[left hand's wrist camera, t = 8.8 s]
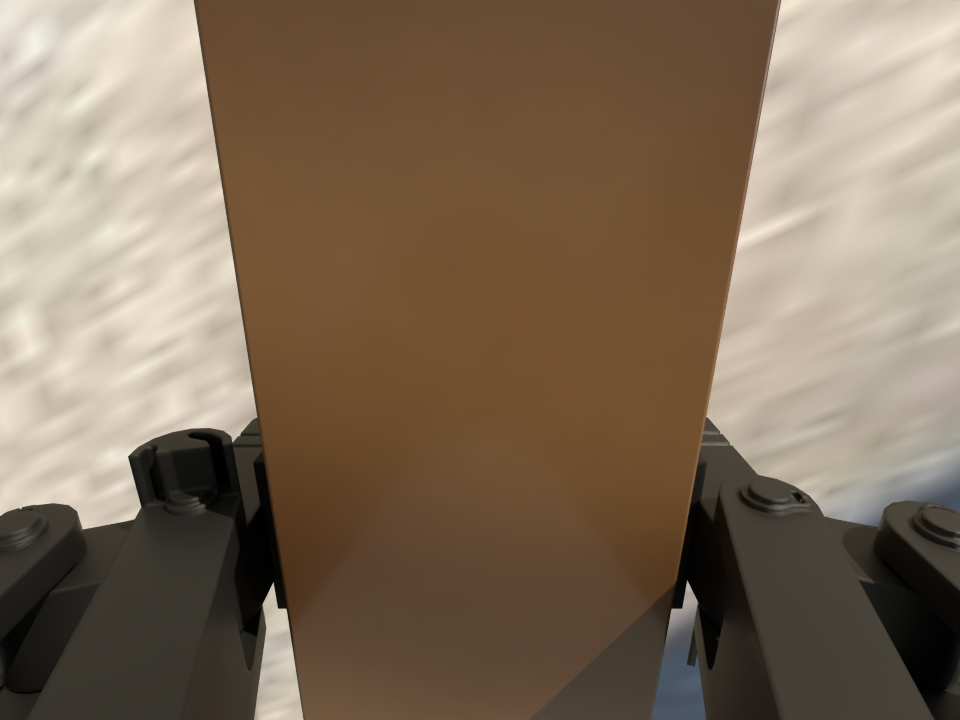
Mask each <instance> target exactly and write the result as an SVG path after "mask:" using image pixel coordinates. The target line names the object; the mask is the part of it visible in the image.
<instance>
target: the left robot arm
mask: <svg viewBox="0 0 960 720" xmlns="http://www.w3.org/2000/svg"><path fill="white" fill-rule="evenodd" d="M128 458H129V462H130V466H131V469H132V473H133V477H134V481H135V484H136V488H137V492H138V496H139V499H140V503H141V509H140V511H139V513H138V515H137V516H136V518H135V519H134V520H130V521H126V522H121V523H116V524H110V525H105V526H100V527H94V528H89V529H84V530H83V529H82V526H81V523H80V520H79V516H78V513H77V511H76V510H74V509H73V508H72V507H70V506H69V505H62V504H54V503H52V504H43V505H31V506H26V507H22V509H19V508H18V509H15V510H11V511H8V512H6V513H4V514H3V515H2V516H0V720H254V714H255V707H256V700H257V692H258V685H259V678H260V670H261V663H262V656H263V648H264V641H265V634H266V623H265V616H264V611H263V605H262V604H263V602H264V600H265V598H266V596H267V594H268V592H269V590H270V588H271V586H272V584H273V582H274V587H275V593H276V599H277V605H278V609H287V607H286V601H285V594H284V588H283V581H282V575H281V568H280V562H279V555H278V548H277V542H276V535H275V529H274V522H273V516H272V509H271V503H270V496H269V490H268V483H267V476H266V470H265V463H264V457H263V450H262V444H261V437H260V431H259V424H258V418H255V419H254V420H252V421H251V422H250V423H249V425H248V426H247V427H246V428H245V429H244V430H243V431H242V433H241V436H238V437H237V438H236V440H235V441H234V442H233V443H232V438H231V436H230V435H228V434H227V433H226V432H224V431H221V430H216V429H211V428H199V429H188V430H182V431H177V432H172V433H169V434H166V435H163V436H160V437H157V438H154V439H152V440H150V441H149V442H147V443H145V444H143V445H141V446H139V447H138V448H137V449H136V450H135V451H133V452H132V453H131V454H130V455H129V456H128ZM687 580H688V582H689V584H690V586H691V588H692V591H693V593H694V595H695V597H696V599H697V601H698V605H697V611H696V616H695V622H694V627H693V632H692V638H691V643H690V649H689V654H688V661H687V665H691V666H695V661H696V656H697V654H698V662H699V669H700V676H701V684H702V691H703V698H704V706H705V713H706V720H960V513H959V512H958V511H956V510H955V509H952V508H949V507H945V506H942V507H941V506H939V505H938V504H933V503H927V502H926V503H923V502H914V501H903V502H895V503H892V504H890V505H889V506H888V507H886V508H885V509H884V512H883V515H882V518H881V521H880V524H879V527H874V526H869V525H863V524H858V523H853V522H847V521H842V520H837V519H832V518H828V517H824V515H823V514H822V512H821V510H820V508H819V506H818V505H817V504H816V503H815V502H814V501H813V499H812V498H811V497H810V496H809V495H807V494H806V493H804V492H803V491H801V490H800V489H798V488H796V487H795V486H793V485H790V484H788V483H785V482H783V481H780V480H778V479H774V478H769V477H765V476H760V475H757V473H756V472H755V471H754V470H753V469H752V468H751V467H750V465H749V464H748V463H747V462H746V461H745V460H744V459H743V457H742V456H741V455H740V454H739V453H738V452H737V451H736V449H735V448H734V447H733V446H730V443H729V441H728V440H727V439H726V438H725V437H724V436H723V435H722V434H720V431H719V430H718V429H717V428H716V427H715V425H714V424H713V423H712V422H711V421H710V420H709V419H708V418H707V417H706V420H705V425H704V431H703V436H702V442H701V447H700V453H699V458H698V464H697V470H696V475H695V481H694V486H693V492H692V497H691V503H690V508H689V514H688V519H687V525H686V531H685V536H684V542H683V547H682V553H681V558H680V564H679V569H678V575H677V580H676V586H675V592H674V597H673V603H672V608H671V609H682V607H683V601H684V595H685V589H686V584H687Z"/></svg>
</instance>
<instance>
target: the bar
mask: <svg viewBox="0 0 960 720" xmlns="http://www.w3.org/2000/svg"><path fill="white" fill-rule="evenodd" d="M780 4H781V0H194V5H195V12H196V18H197V25H198V31H199V38H200V44H201V51H202V58H203V64H204V71H205V77H206V84H207V90H208V97H209V103H210V110H211V116H212V123H213V130H214V136H215V143H216V149H217V156H218V162H219V169H220V175H221V182H222V188H223V195H224V202H225V208H226V215H227V221H228V228H229V234H230V241H231V247H232V254H233V260H234V267H235V274H236V280H237V287H238V293H239V300H240V306H241V313H242V319H243V326H244V332H245V339H246V346H247V352H248V359H249V365H250V372H251V378H252V385H253V391H254V398H255V404H256V411H257V418H258V424H259V431H260V437H261V444H262V450H263V457H264V463H265V470H266V476H267V483H268V490H269V496H270V503H271V509H272V516H273V522H274V529H275V535H276V542H277V548H278V555H279V562H280V568H281V575H282V581H283V588H284V594H285V601H286V607H287V614H288V620H289V627H290V634H291V640H292V647H293V653H294V660H295V666H296V673H297V679H298V686H299V692H300V699H301V706H302V712H303V719H304V720H651V719H652V714H653V708H654V703H655V697H656V691H657V686H658V680H659V675H660V669H661V664H662V658H663V653H664V647H665V642H666V636H667V630H668V625H669V619H670V614H671V608H672V603H673V597H674V592H675V586H676V580H677V575H678V569H679V564H680V558H681V553H682V547H683V542H684V536H685V531H686V525H687V519H688V514H689V508H690V503H691V497H692V492H693V486H694V481H695V475H696V470H697V464H698V458H699V453H700V447H701V442H702V436H703V431H704V425H705V420H706V414H707V409H708V403H709V397H710V392H711V386H712V381H713V375H714V370H715V364H716V359H717V353H718V348H719V342H720V336H721V331H722V325H723V320H724V314H725V309H726V303H727V298H728V292H729V286H730V281H731V275H732V270H733V264H734V259H735V253H736V248H737V242H738V237H739V231H740V225H741V220H742V214H743V209H744V203H745V198H746V192H747V187H748V181H749V176H750V170H751V164H752V159H753V153H754V148H755V142H756V137H757V131H758V126H759V120H760V115H761V109H762V103H763V98H764V92H765V87H766V81H767V76H768V70H769V65H770V59H771V54H772V48H773V42H774V37H775V31H776V26H777V20H778V15H779V9H780Z"/></svg>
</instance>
